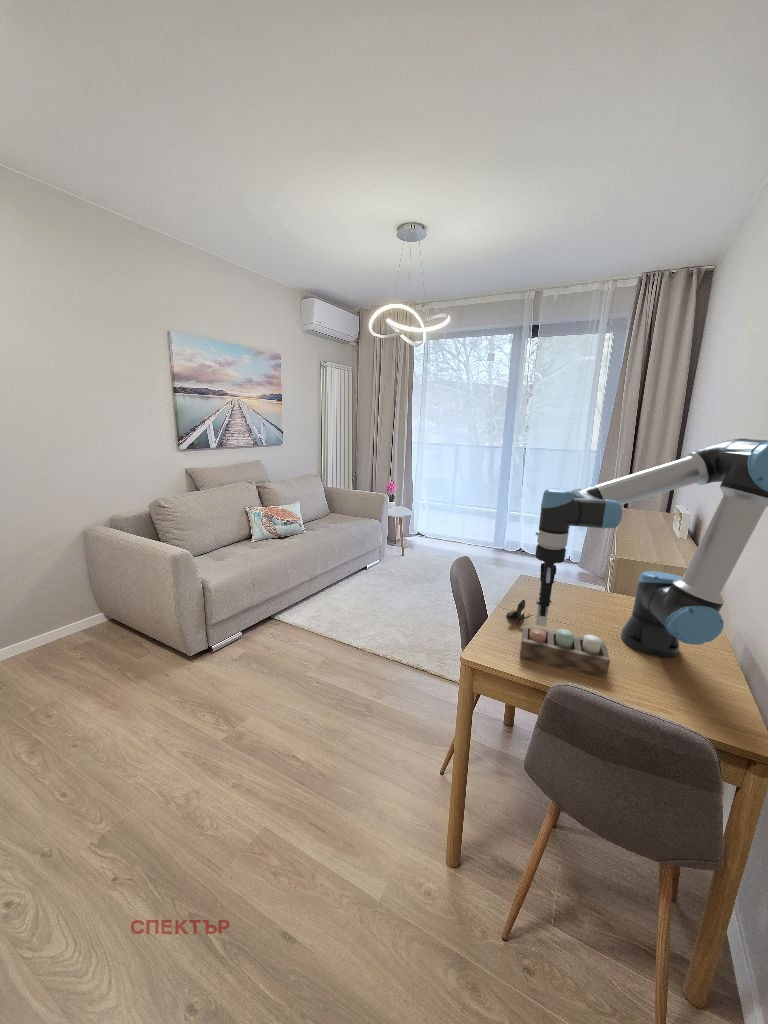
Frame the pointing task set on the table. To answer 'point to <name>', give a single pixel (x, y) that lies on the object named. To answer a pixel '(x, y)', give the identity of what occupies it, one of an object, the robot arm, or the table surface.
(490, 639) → the table surface
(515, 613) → the eagle figurine
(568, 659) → the wooden egg holder
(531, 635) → the pink rounded block
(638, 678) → the table surface
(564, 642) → the sage button
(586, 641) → the white rounded block
